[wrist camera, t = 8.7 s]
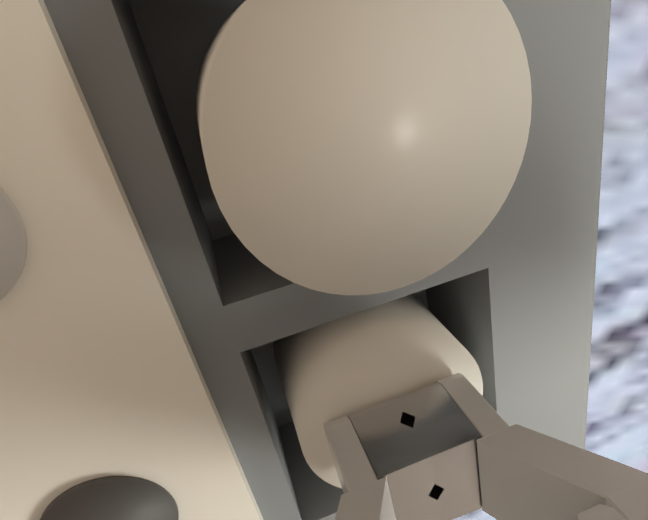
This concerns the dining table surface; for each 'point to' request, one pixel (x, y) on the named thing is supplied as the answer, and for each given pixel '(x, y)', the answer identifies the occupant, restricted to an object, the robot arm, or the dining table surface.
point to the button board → (238, 272)
